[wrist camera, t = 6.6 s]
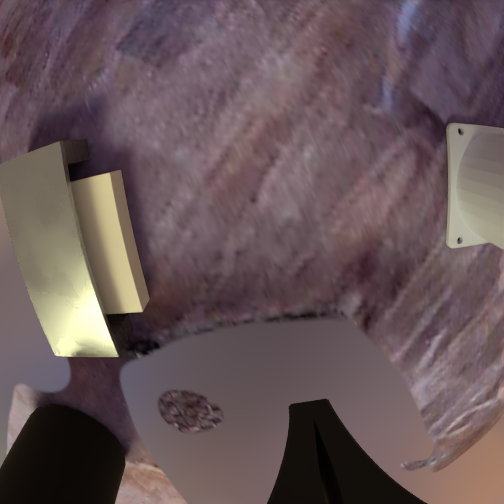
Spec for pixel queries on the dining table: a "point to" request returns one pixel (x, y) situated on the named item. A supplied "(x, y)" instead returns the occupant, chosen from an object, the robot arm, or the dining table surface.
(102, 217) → the cream sticky note pad
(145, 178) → the dining table surface
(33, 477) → the coffee jar
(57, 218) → the overhang
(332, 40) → the dining table surface
